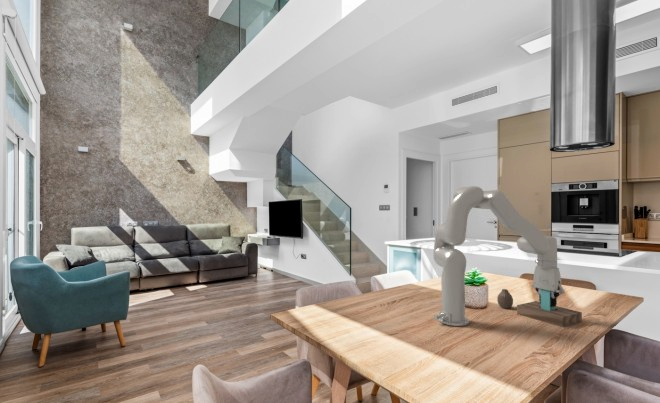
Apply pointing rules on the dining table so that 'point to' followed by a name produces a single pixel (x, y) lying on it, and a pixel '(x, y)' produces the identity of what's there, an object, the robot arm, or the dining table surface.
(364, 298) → the dining table surface
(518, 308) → the socket block
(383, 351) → the dining table surface
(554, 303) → the robot arm
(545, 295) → the peg
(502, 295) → the vase
